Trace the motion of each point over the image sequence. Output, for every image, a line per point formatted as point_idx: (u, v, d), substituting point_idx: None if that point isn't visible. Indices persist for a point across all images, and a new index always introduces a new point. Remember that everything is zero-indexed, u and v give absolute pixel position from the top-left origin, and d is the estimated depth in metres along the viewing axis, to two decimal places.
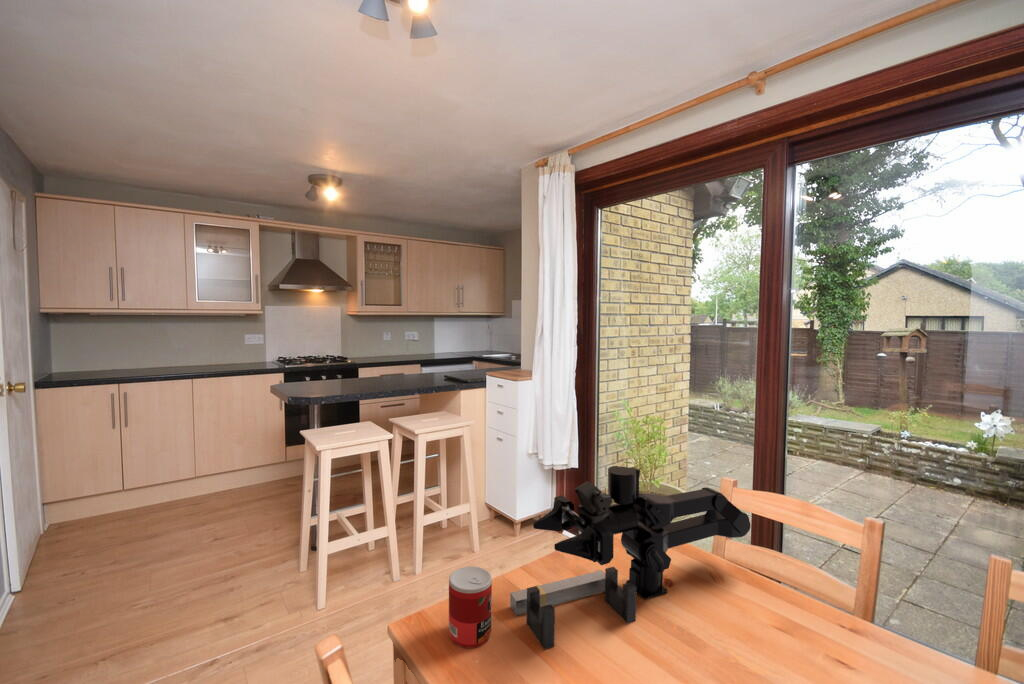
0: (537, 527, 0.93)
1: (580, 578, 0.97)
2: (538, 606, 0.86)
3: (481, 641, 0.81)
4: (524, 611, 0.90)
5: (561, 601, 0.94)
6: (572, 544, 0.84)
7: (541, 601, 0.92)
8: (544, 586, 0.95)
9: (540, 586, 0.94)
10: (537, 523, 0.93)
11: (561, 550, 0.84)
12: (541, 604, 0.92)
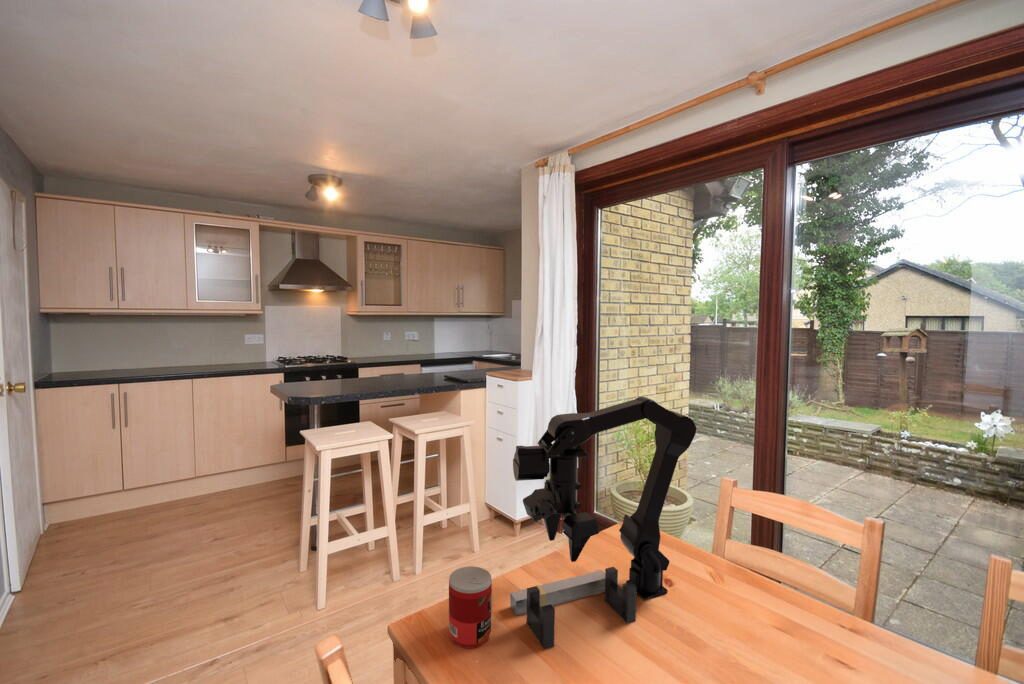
0: (554, 536, 0.99)
1: (580, 578, 0.97)
2: (538, 606, 0.86)
3: (481, 641, 0.81)
4: (524, 611, 0.90)
5: (561, 601, 0.94)
6: (575, 549, 0.89)
7: (541, 601, 0.92)
8: (544, 586, 0.95)
9: (540, 586, 0.94)
10: (550, 537, 0.99)
11: (577, 556, 0.90)
12: (541, 604, 0.92)
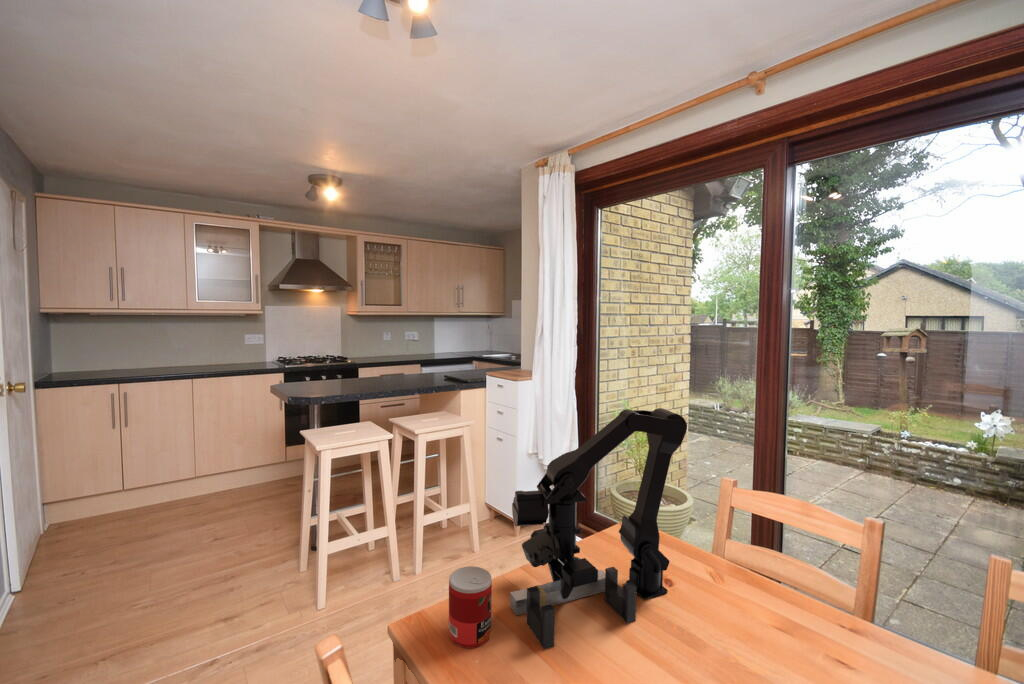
0: None
1: None
2: (538, 606, 0.86)
3: (481, 641, 0.81)
4: (524, 610, 0.90)
5: (561, 601, 0.94)
6: (566, 587, 0.92)
7: (541, 601, 0.92)
8: (544, 585, 0.95)
9: (540, 586, 0.94)
10: None
11: (569, 593, 0.93)
12: (541, 604, 0.92)
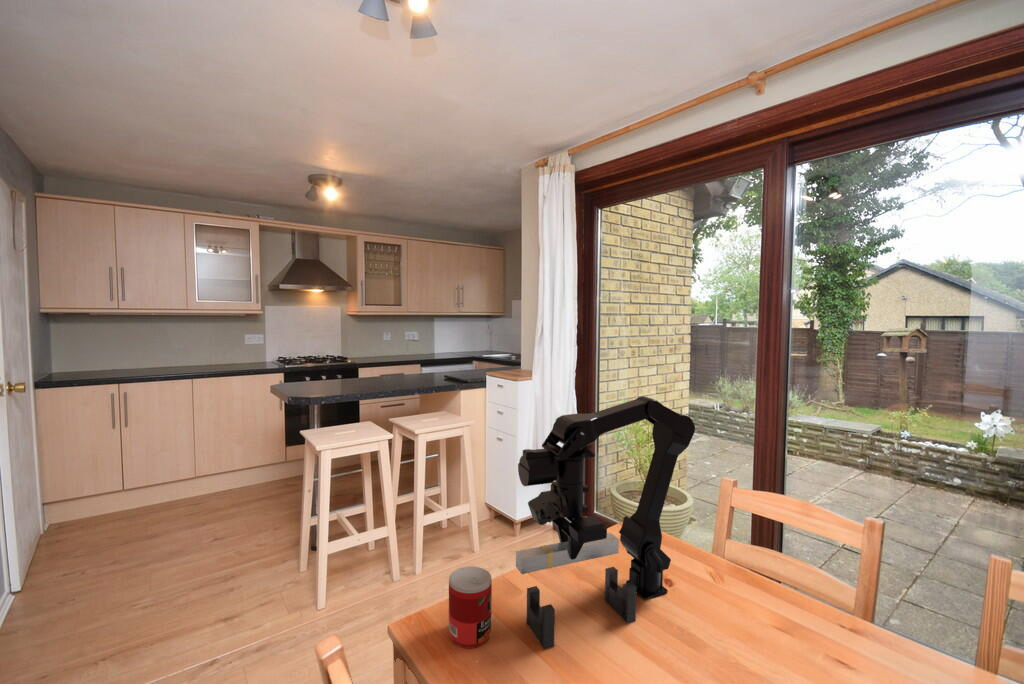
0: None
1: None
2: (538, 606, 0.86)
3: (481, 641, 0.81)
4: (530, 569, 0.87)
5: (568, 561, 0.90)
6: (574, 546, 0.89)
7: (547, 560, 0.89)
8: (551, 546, 0.91)
9: (547, 546, 0.91)
10: None
11: (577, 554, 0.90)
12: (547, 563, 0.89)
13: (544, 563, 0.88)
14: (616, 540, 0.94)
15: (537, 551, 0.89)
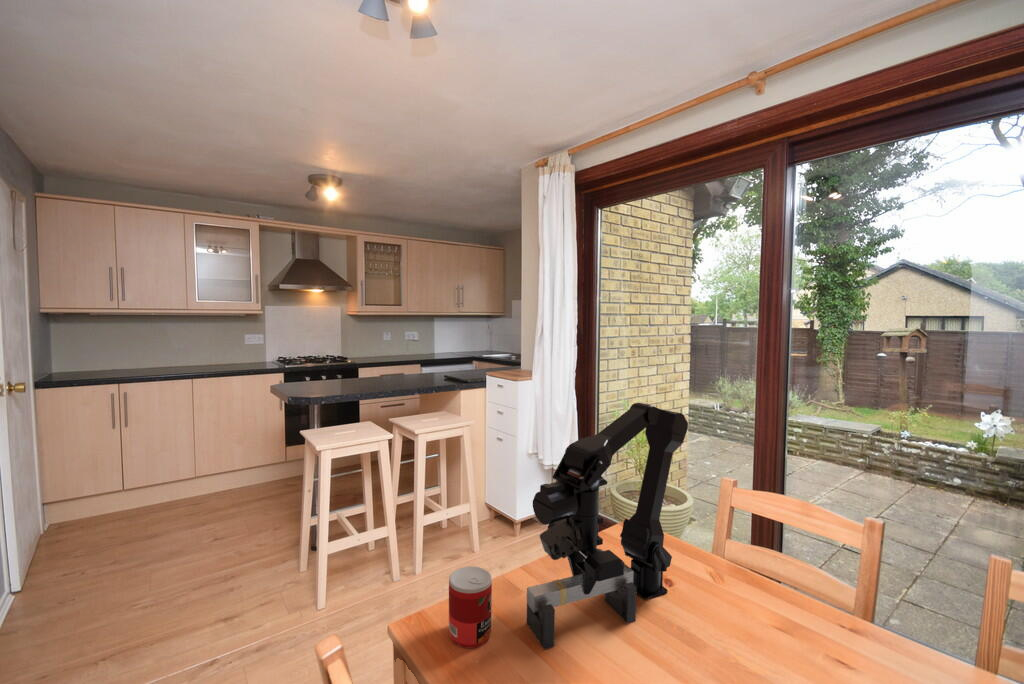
0: None
1: None
2: None
3: (481, 641, 0.81)
4: None
5: (582, 597, 0.86)
6: (588, 581, 0.85)
7: (561, 597, 0.84)
8: (564, 580, 0.87)
9: (560, 581, 0.87)
10: None
11: (591, 588, 0.86)
12: (561, 600, 0.84)
13: (557, 600, 0.84)
14: (631, 572, 0.90)
15: (549, 587, 0.85)
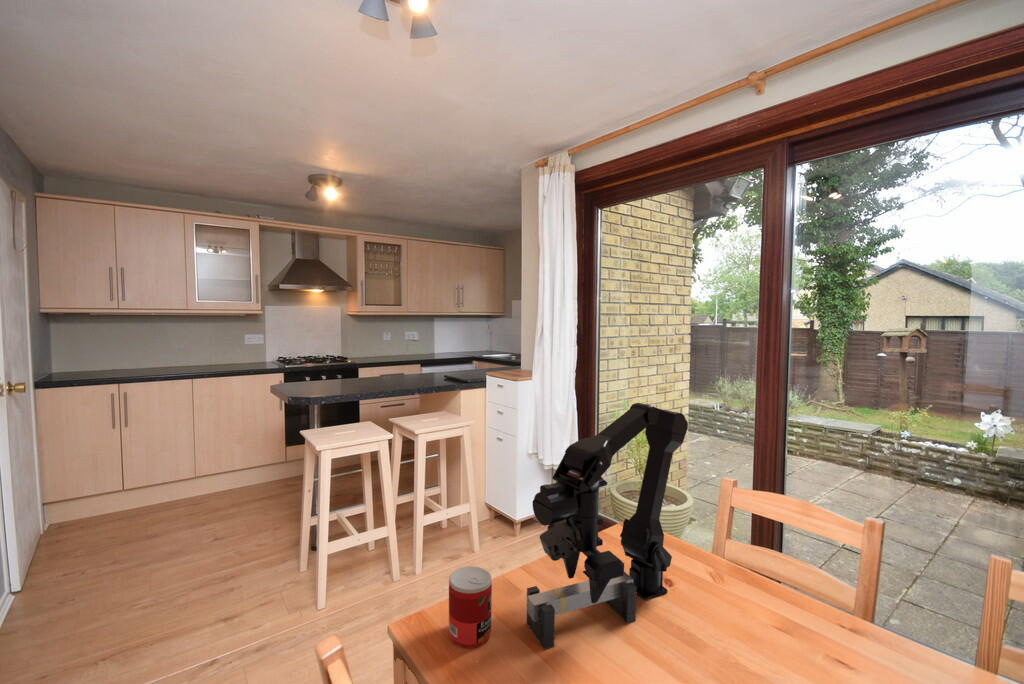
0: (573, 574, 0.91)
1: None
2: None
3: (481, 641, 0.81)
4: None
5: (582, 605, 0.86)
6: (596, 590, 0.82)
7: (561, 605, 0.84)
8: (564, 588, 0.87)
9: (559, 589, 0.87)
10: (569, 574, 0.91)
11: (598, 597, 0.83)
12: (561, 609, 0.84)
13: (557, 608, 0.84)
14: (630, 580, 0.90)
15: (549, 596, 0.85)
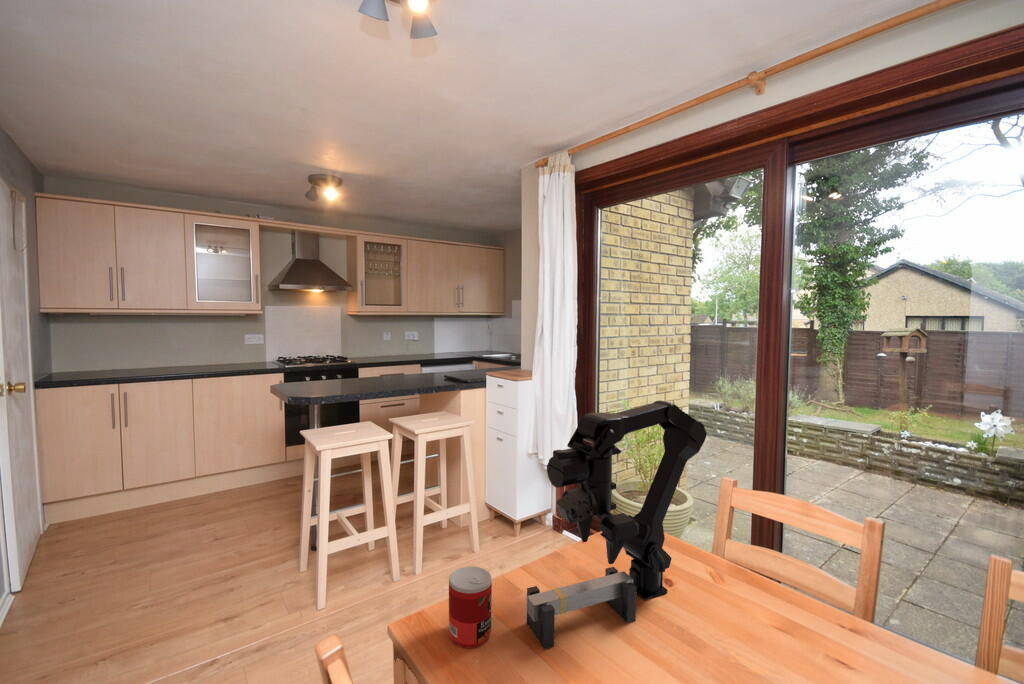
0: (587, 538, 0.96)
1: (601, 580, 0.90)
2: None
3: (481, 641, 0.81)
4: None
5: (582, 605, 0.86)
6: (613, 551, 0.86)
7: (561, 605, 0.84)
8: (564, 588, 0.87)
9: (559, 589, 0.87)
10: (583, 538, 0.96)
11: (615, 558, 0.88)
12: (561, 609, 0.84)
13: (557, 608, 0.84)
14: (630, 580, 0.90)
15: (549, 596, 0.85)
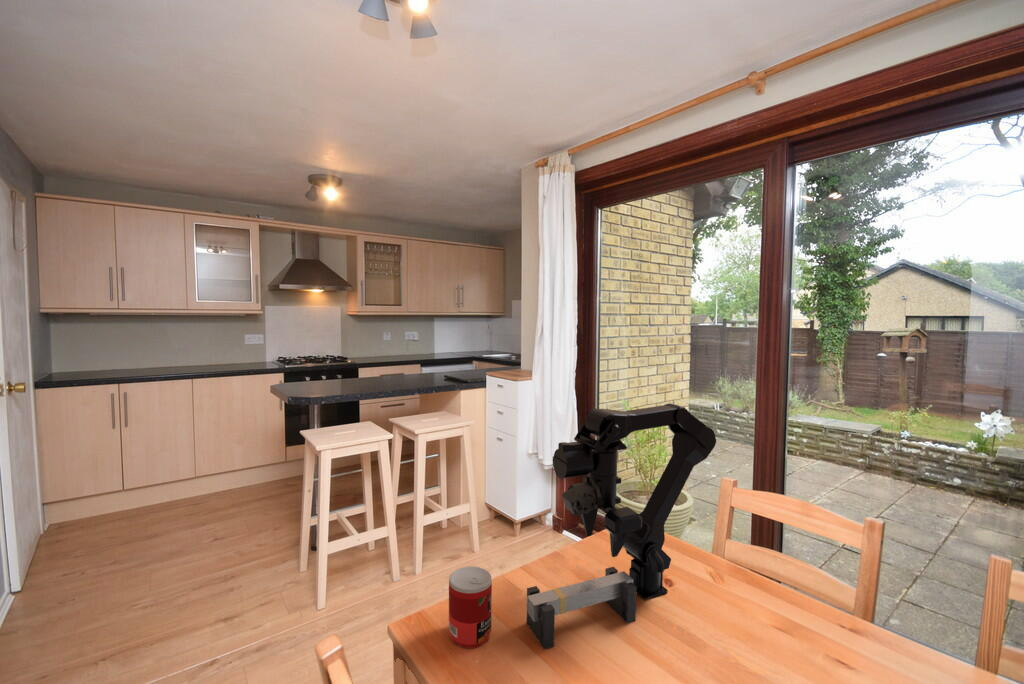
0: (591, 532, 0.98)
1: (601, 580, 0.90)
2: None
3: (481, 641, 0.81)
4: None
5: (582, 605, 0.86)
6: (616, 544, 0.88)
7: (561, 605, 0.84)
8: (564, 588, 0.87)
9: (559, 589, 0.87)
10: (588, 532, 0.98)
11: (618, 551, 0.89)
12: (561, 609, 0.84)
13: (557, 608, 0.84)
14: (630, 580, 0.90)
15: (549, 596, 0.85)
